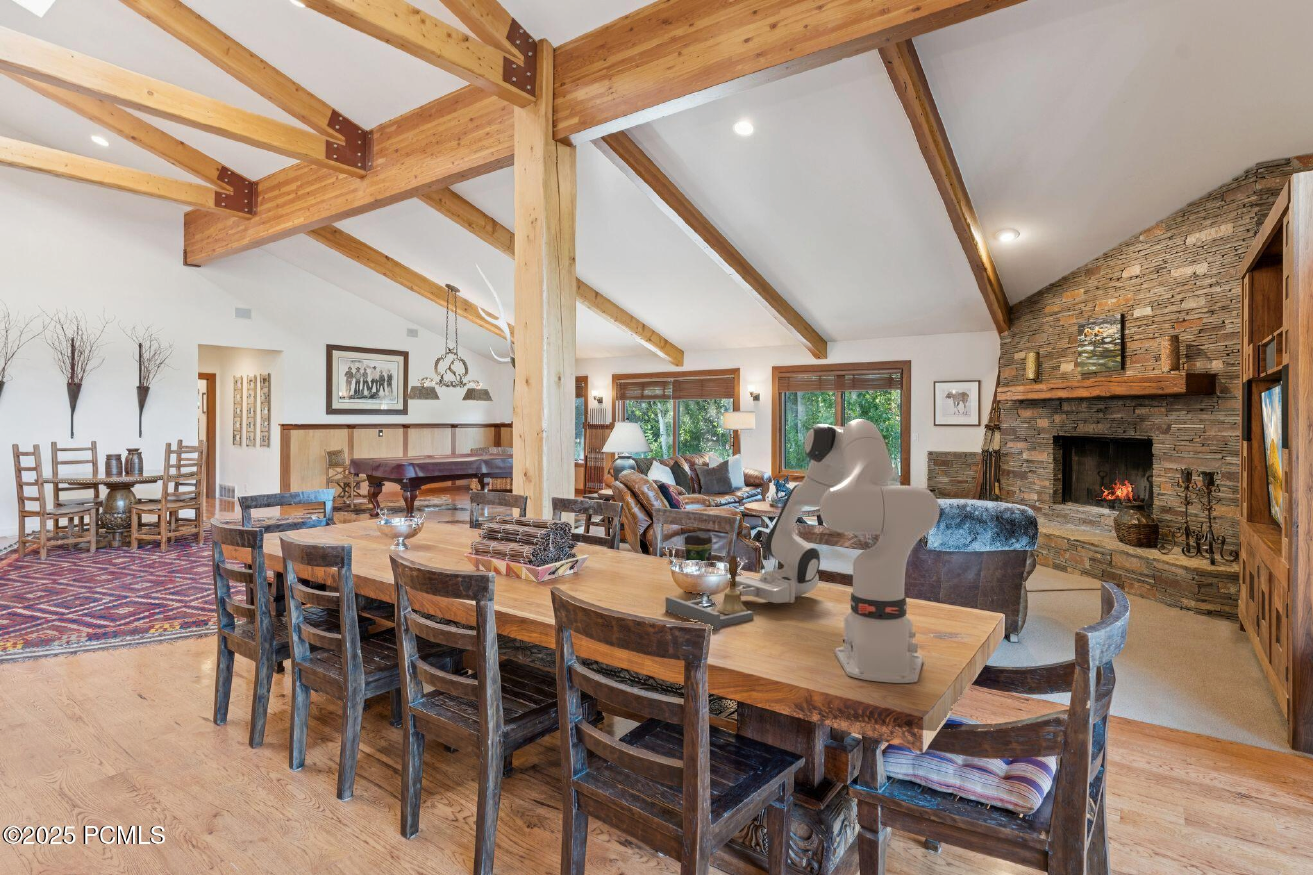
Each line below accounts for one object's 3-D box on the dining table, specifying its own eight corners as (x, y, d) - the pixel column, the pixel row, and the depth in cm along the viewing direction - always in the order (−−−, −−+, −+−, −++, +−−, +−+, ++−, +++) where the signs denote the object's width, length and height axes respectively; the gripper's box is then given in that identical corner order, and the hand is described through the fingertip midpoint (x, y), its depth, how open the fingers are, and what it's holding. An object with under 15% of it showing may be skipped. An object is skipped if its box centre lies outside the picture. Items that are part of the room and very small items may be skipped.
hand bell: (737, 605, 194) (737, 551, 193) (752, 613, 186) (752, 556, 186) (712, 609, 190) (712, 553, 190) (726, 616, 183) (727, 558, 182)
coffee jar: (693, 584, 220) (693, 529, 220) (715, 587, 216) (715, 530, 216) (680, 591, 211) (680, 533, 211) (703, 594, 208) (703, 535, 207)
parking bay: (705, 603, 197) (705, 589, 197) (757, 620, 179) (757, 605, 179) (665, 610, 188) (665, 596, 188) (715, 630, 170) (715, 614, 170)
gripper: (749, 569, 206) (715, 574, 198) (798, 581, 189) (762, 588, 181) (749, 589, 206) (715, 595, 198) (798, 603, 189) (762, 611, 181)
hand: (738, 592), depth 189 cm, fingers closed, pressing on hand bell
